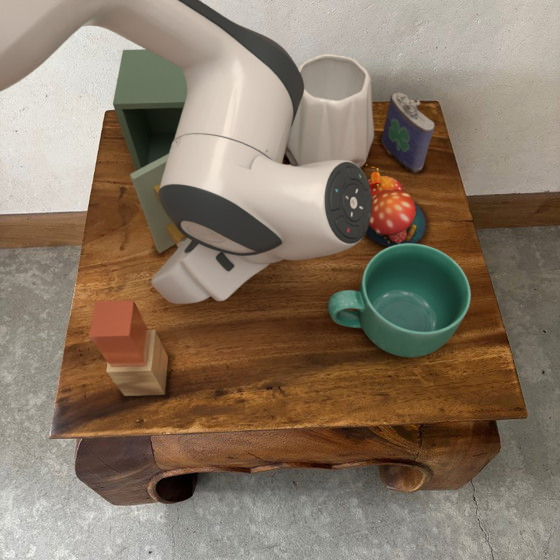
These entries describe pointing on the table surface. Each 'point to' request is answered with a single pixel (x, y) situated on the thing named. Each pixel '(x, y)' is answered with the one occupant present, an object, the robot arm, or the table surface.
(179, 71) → the cupboard
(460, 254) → the table surface
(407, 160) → the flask
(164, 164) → the door
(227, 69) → the robot arm
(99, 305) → the block
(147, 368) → the stand
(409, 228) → the figurine
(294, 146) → the vase
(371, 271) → the mug
